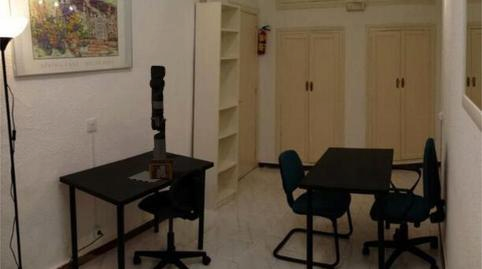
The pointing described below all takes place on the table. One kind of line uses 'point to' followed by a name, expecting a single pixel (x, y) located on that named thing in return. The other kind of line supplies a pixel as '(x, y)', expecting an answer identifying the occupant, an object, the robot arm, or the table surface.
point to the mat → (144, 177)
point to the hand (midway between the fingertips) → (159, 131)
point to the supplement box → (161, 168)
